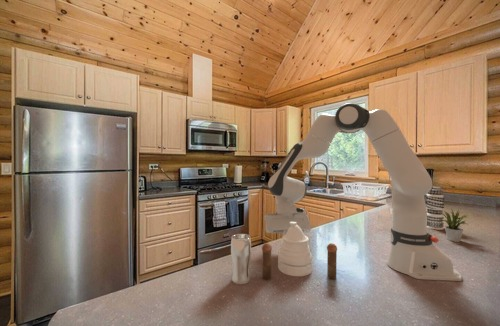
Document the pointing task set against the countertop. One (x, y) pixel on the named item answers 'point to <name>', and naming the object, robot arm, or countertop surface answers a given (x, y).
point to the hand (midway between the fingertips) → (289, 241)
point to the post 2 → (331, 261)
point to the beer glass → (241, 258)
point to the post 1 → (266, 262)
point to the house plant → (454, 226)
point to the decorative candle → (435, 208)
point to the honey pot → (295, 253)
